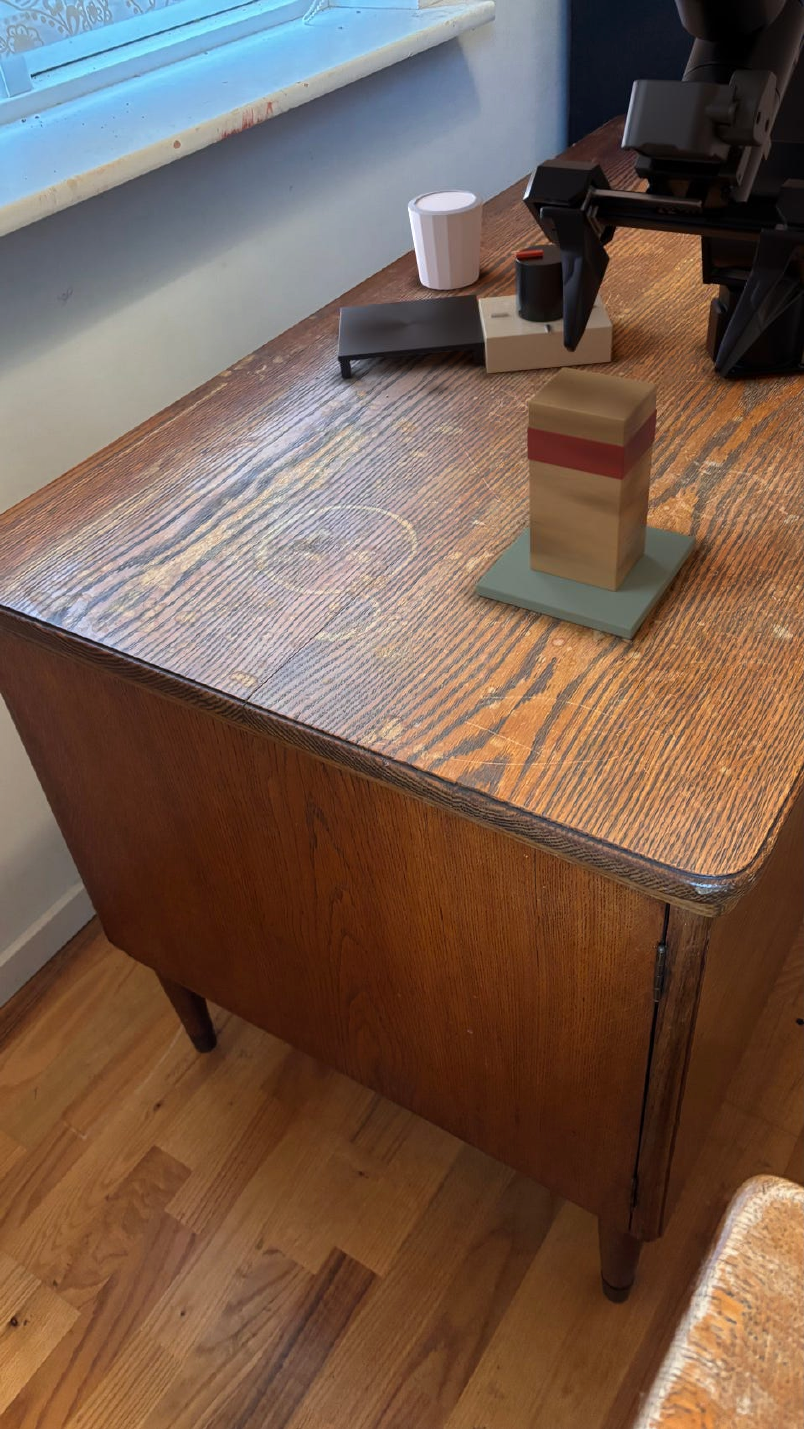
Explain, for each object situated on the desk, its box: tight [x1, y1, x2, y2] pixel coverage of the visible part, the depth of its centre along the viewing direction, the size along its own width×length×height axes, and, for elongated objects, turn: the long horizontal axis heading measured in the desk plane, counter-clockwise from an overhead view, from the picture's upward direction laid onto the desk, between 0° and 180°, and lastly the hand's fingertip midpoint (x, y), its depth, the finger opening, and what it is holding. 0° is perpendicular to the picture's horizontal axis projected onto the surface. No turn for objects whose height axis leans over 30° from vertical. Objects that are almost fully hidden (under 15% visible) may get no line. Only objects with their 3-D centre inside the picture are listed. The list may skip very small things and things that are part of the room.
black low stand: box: [337, 294, 485, 379], centre depth 89 cm, size 12×10×2 cm
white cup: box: [407, 189, 484, 291], centre depth 98 cm, size 7×7×7 cm
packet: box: [526, 366, 659, 592], centre depth 60 cm, size 4×6×11 cm
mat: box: [475, 524, 697, 640], centre depth 64 cm, size 10×10×1 cm
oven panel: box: [478, 291, 614, 374], centre depth 87 cm, size 10×9×3 cm
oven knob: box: [514, 244, 563, 322], centre depth 84 cm, size 4×4×5 cm
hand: (640, 361), depth 61 cm, fingers open, 9 cm apart
